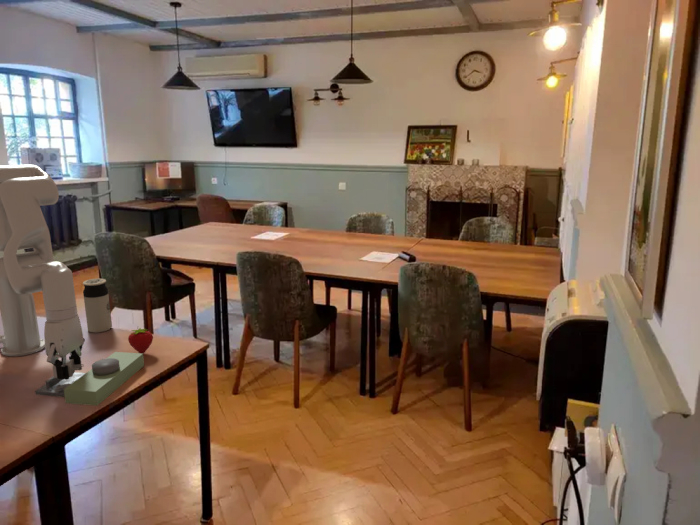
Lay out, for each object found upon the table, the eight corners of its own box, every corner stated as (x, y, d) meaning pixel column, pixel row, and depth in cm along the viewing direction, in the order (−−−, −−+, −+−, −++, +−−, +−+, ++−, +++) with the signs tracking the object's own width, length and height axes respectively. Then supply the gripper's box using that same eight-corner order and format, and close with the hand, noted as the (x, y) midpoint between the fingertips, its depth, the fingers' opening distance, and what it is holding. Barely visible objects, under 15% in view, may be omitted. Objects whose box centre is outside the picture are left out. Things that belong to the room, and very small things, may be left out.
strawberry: (152, 357, 165) (149, 327, 162) (127, 358, 164) (124, 328, 161) (156, 349, 170) (153, 321, 168) (132, 350, 169) (129, 321, 167)
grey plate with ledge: (35, 394, 141) (34, 386, 140) (64, 374, 153) (63, 366, 152) (71, 397, 140) (70, 388, 139) (97, 377, 151) (96, 369, 151)
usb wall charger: (58, 372, 147) (56, 359, 146) (85, 370, 148) (83, 357, 147) (54, 379, 143) (52, 365, 142) (81, 376, 145) (80, 363, 144)
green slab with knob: (64, 402, 137) (61, 382, 135) (115, 363, 160) (113, 345, 158) (97, 405, 136) (94, 384, 134) (144, 365, 159) (142, 347, 157)
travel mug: (83, 332, 184) (77, 284, 179) (94, 324, 192) (89, 278, 187) (105, 333, 184) (99, 284, 179) (116, 325, 191) (110, 278, 187)
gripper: (69, 302, 149) (76, 360, 154) (26, 323, 133) (36, 387, 138) (93, 303, 148) (100, 362, 153) (53, 325, 132) (62, 389, 137)
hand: (69, 373), depth 145 cm, fingers closed on usb wall charger, 4 cm apart
